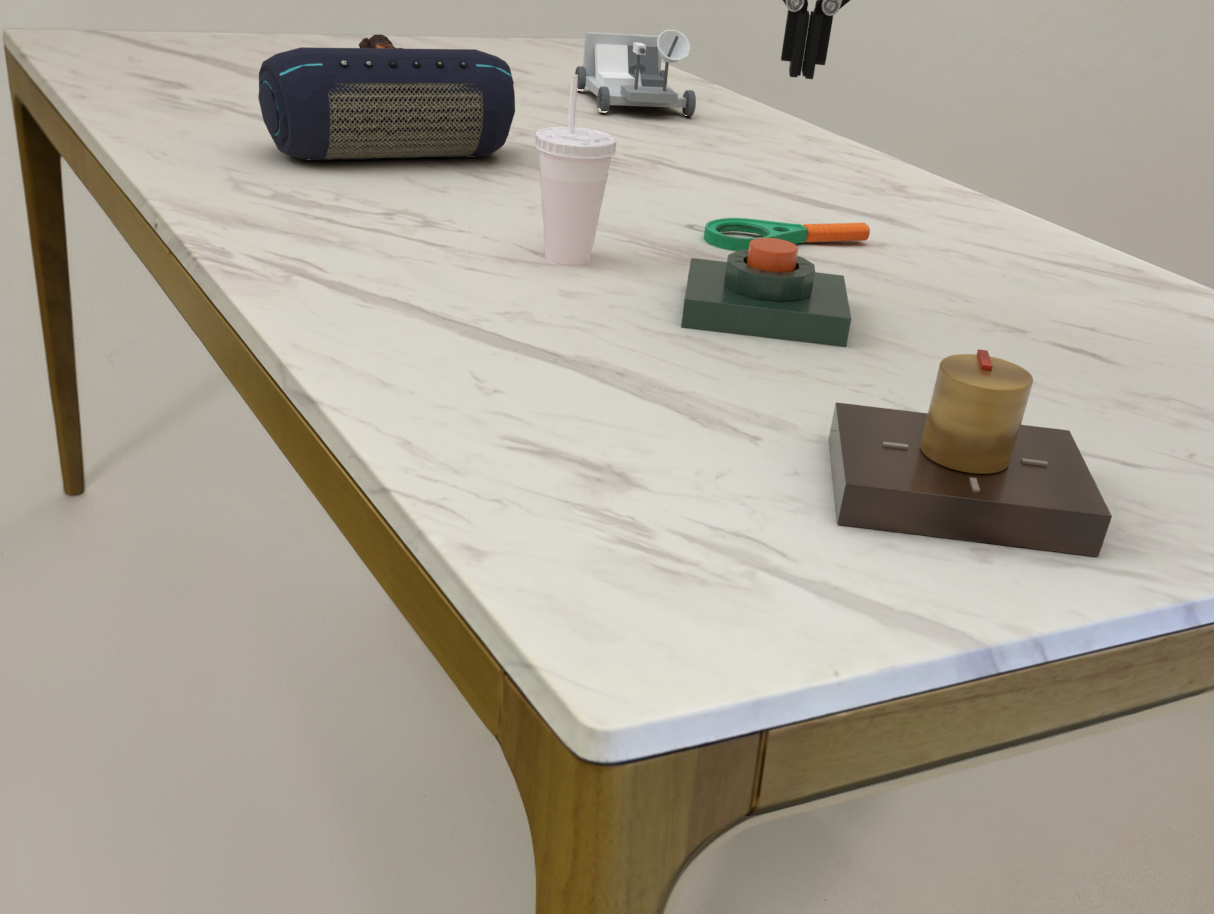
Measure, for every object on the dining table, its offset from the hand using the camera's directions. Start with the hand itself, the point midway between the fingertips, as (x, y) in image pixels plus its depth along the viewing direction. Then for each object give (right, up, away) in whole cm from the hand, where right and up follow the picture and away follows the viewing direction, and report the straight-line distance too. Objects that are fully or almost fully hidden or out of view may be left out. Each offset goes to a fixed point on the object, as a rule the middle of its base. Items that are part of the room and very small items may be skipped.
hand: (800, 74), depth 87 cm
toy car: (-10, +26, +71) cm, 76 cm away
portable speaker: (-35, +8, +40) cm, 53 cm away
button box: (-1, -14, +9) cm, 17 cm away
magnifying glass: (+3, -4, +26) cm, 27 cm away
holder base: (+7, -30, -14) cm, 34 cm away
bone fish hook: (-36, +30, +73) cm, 87 cm away
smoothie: (-16, -8, +17) cm, 25 cm away
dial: (+7, -28, -15) cm, 33 cm away
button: (-1, -11, +7) cm, 14 cm away
